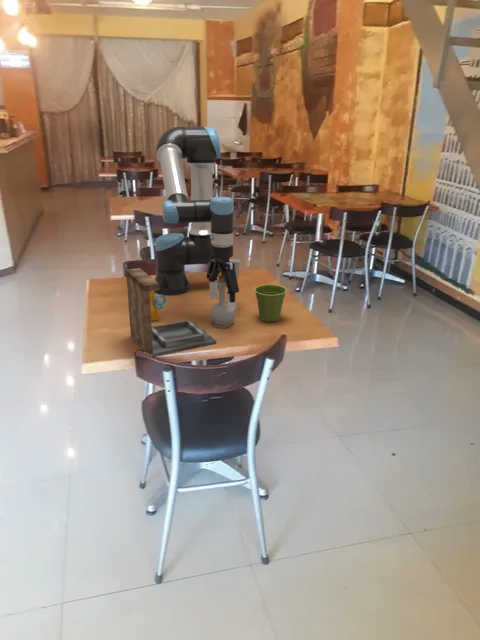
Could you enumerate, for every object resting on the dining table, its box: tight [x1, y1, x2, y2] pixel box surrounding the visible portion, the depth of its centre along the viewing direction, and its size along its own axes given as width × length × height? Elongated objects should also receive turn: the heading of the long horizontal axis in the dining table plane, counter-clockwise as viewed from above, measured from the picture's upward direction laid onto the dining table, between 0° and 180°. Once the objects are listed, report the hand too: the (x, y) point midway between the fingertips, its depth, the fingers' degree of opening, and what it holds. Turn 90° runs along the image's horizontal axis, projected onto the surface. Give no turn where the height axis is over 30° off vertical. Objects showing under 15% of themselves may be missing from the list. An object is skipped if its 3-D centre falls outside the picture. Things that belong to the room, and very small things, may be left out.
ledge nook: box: [125, 267, 217, 357], centre depth 161 cm, size 18×23×23 cm
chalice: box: [225, 258, 241, 310], centre depth 192 cm, size 7×7×18 cm
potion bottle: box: [209, 274, 236, 329], centre depth 175 cm, size 9×9×18 cm
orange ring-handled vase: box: [150, 277, 167, 322], centre depth 179 cm, size 12×10×15 cm
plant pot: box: [253, 284, 288, 322], centre depth 182 cm, size 12×12×11 cm
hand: (222, 304), depth 176 cm, fingers open, 13 cm apart
